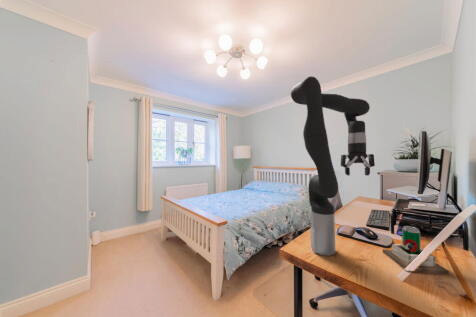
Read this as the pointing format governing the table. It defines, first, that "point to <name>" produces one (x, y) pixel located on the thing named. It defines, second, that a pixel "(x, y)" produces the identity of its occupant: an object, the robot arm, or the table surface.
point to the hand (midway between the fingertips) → (357, 175)
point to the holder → (405, 259)
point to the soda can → (411, 240)
